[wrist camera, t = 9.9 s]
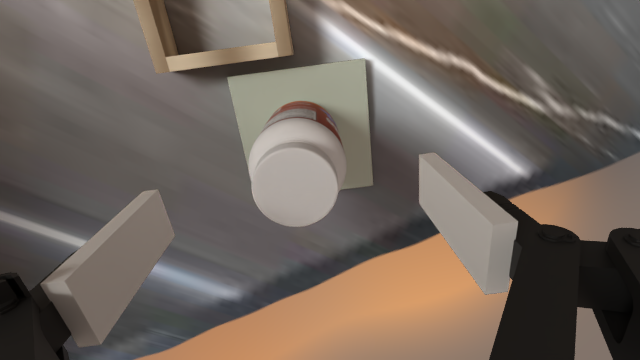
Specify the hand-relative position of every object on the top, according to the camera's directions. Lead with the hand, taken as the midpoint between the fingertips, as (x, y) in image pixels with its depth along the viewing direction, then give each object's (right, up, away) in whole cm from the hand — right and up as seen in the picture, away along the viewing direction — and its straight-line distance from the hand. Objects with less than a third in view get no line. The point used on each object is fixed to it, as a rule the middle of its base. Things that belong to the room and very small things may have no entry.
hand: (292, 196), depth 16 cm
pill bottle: (0, +5, +11) cm, 12 cm away
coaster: (0, +5, +12) cm, 13 cm away
